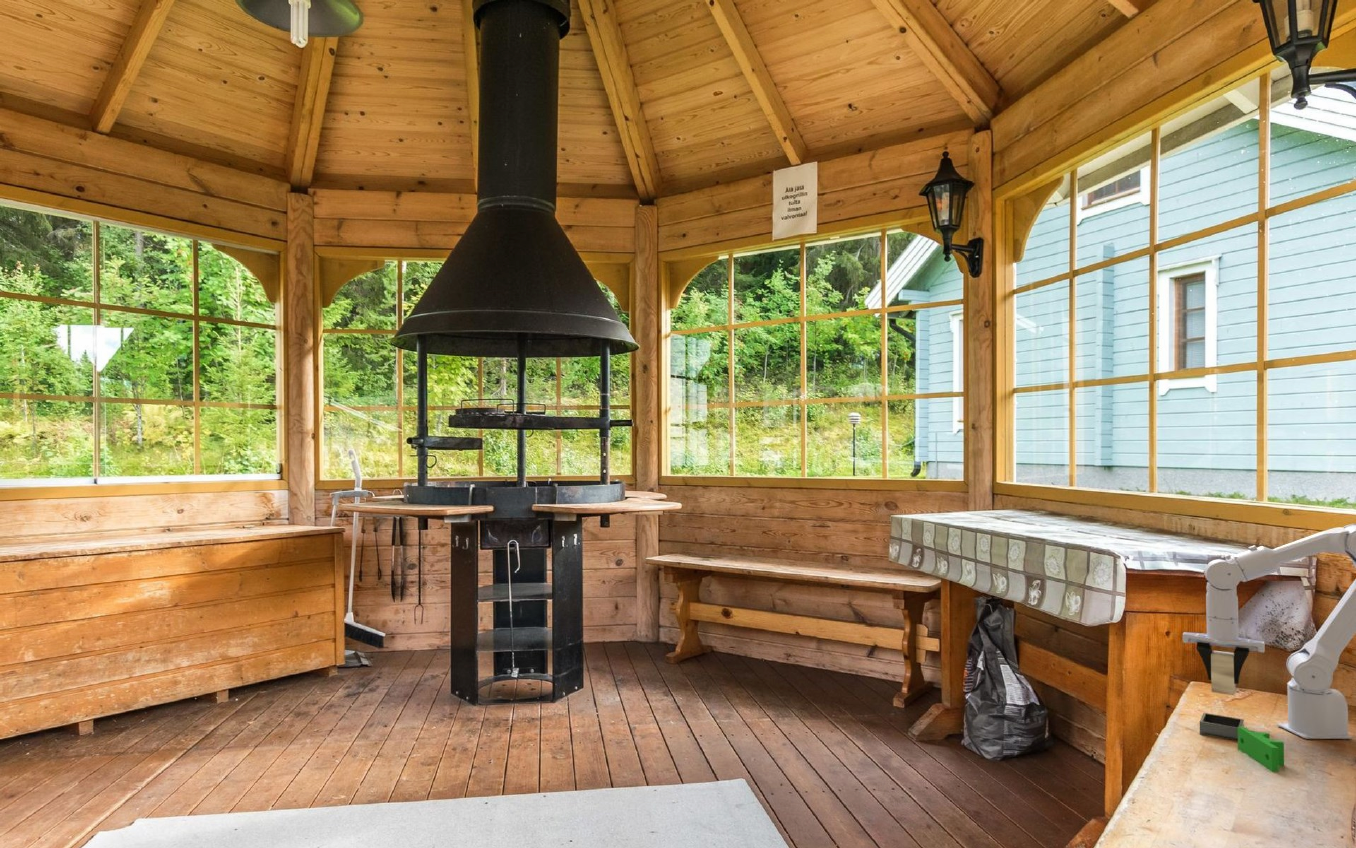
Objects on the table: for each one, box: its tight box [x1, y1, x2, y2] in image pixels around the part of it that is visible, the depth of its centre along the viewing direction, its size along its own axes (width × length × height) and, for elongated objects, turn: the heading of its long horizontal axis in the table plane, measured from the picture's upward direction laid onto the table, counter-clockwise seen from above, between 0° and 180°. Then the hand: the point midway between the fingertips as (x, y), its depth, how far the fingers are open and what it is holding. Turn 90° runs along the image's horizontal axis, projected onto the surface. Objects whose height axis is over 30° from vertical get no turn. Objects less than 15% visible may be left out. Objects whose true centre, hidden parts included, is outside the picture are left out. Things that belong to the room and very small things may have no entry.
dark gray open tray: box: [1199, 712, 1245, 742], centre depth 169 cm, size 7×7×2 cm
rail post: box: [1210, 649, 1237, 696], centre depth 176 cm, size 4×4×8 cm
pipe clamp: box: [1237, 726, 1285, 773], centre depth 155 cm, size 11×4×5 cm, turn 173°
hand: (1223, 680), depth 176 cm, fingers closed on rail post, 4 cm apart
